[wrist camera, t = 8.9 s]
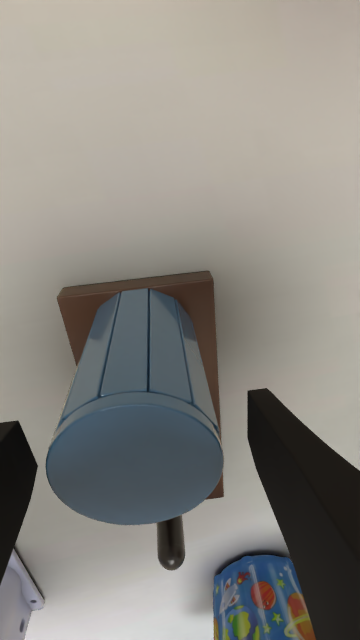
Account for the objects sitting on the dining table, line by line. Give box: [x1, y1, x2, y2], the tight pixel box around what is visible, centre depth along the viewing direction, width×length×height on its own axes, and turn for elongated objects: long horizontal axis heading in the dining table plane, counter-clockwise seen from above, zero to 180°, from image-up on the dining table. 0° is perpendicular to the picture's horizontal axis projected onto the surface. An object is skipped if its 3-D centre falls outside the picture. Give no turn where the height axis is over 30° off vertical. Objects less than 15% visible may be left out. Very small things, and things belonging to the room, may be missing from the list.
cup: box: [46, 288, 224, 525], centre depth 12 cm, size 5×5×8 cm
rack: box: [57, 271, 224, 570], centre depth 16 cm, size 15×7×6 cm, turn 5°
